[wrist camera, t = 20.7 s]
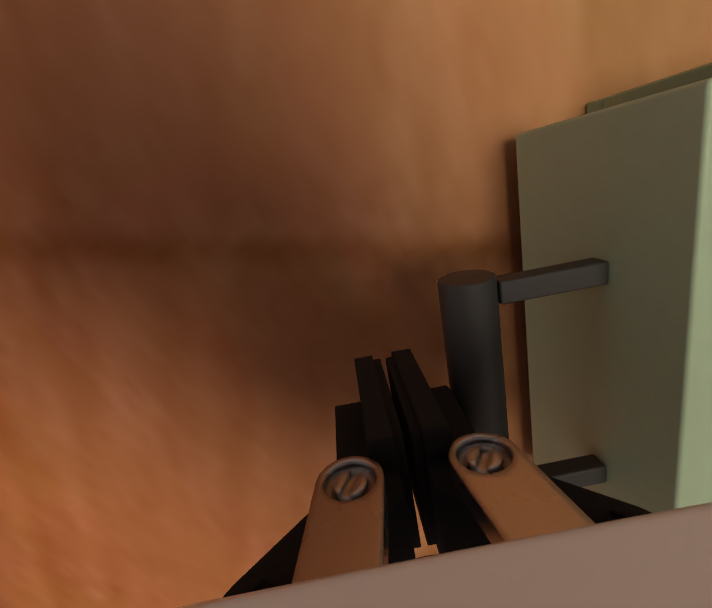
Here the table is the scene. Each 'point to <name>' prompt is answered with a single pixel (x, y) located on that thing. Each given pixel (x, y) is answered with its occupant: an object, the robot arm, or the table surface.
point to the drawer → (605, 302)
